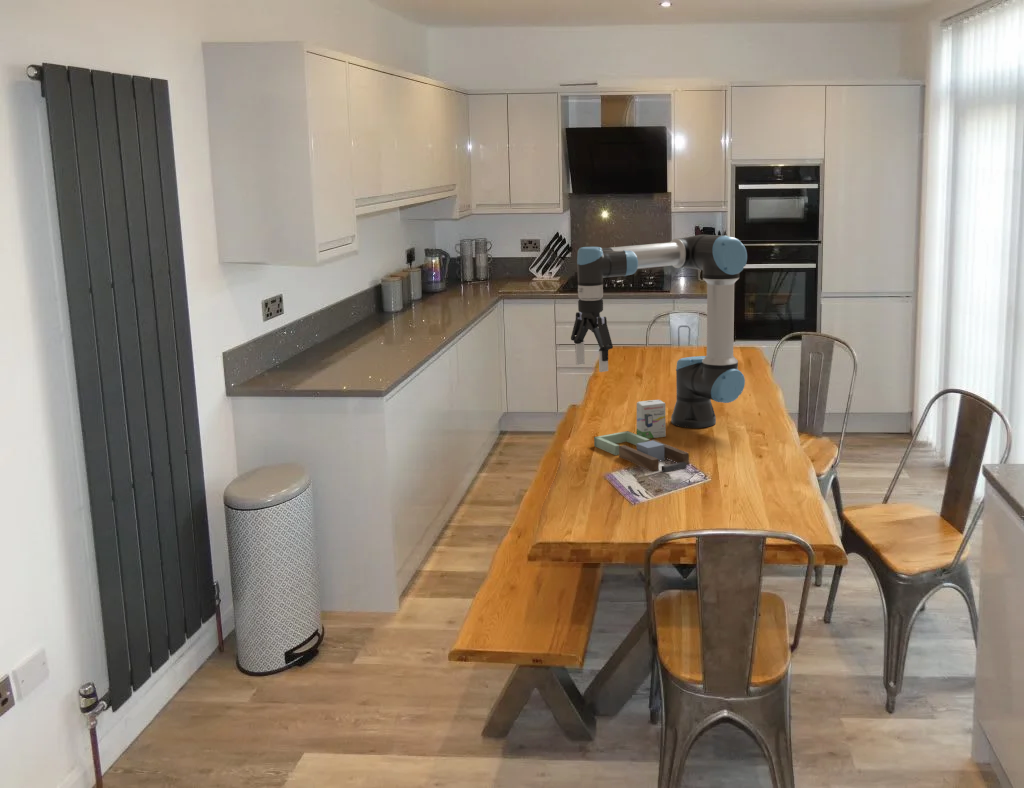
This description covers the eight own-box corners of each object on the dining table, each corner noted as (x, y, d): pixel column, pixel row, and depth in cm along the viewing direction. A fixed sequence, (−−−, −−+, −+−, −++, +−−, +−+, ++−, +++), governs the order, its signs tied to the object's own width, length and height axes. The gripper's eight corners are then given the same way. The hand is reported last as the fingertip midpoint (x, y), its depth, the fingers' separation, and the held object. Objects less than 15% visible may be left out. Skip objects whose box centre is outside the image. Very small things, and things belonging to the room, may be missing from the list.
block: (652, 455, 313) (652, 440, 312) (664, 460, 308) (664, 444, 307) (636, 459, 310) (636, 443, 309) (648, 463, 305) (648, 448, 304)
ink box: (659, 433, 337) (659, 399, 335) (666, 437, 333) (666, 402, 330) (636, 436, 335) (635, 401, 332) (642, 439, 330) (641, 404, 328)
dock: (627, 439, 331) (627, 430, 330) (650, 448, 320) (650, 439, 319) (594, 446, 325) (594, 437, 325) (615, 455, 314) (615, 446, 314)
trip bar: (683, 466, 301) (683, 461, 301) (686, 467, 300) (686, 462, 299) (661, 470, 297) (661, 466, 297) (664, 472, 296) (664, 467, 296)
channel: (653, 450, 318) (653, 439, 318) (688, 464, 303) (688, 453, 302) (619, 456, 313) (619, 446, 312) (653, 471, 297) (653, 460, 296)
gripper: (559, 295, 313) (560, 362, 318) (602, 304, 292) (603, 376, 297) (579, 293, 317) (581, 359, 321) (623, 302, 295) (624, 372, 300)
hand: (591, 367), depth 309 cm, fingers open, 13 cm apart
